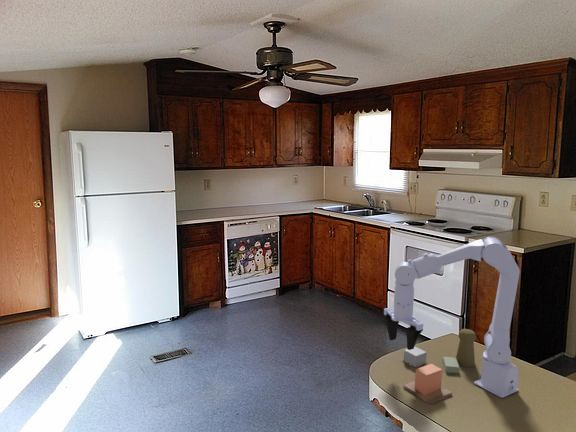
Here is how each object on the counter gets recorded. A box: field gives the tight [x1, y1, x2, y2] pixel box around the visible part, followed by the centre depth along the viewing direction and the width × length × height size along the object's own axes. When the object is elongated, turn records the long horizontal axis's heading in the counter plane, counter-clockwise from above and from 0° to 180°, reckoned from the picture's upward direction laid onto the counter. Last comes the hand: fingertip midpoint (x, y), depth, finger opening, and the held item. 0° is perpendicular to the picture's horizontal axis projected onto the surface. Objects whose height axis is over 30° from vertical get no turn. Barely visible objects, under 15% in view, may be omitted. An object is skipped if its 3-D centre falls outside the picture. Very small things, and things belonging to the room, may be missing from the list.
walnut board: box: [403, 380, 453, 405], centre depth 136 cm, size 10×9×1 cm
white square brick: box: [403, 345, 427, 368], centre depth 153 cm, size 5×5×4 cm
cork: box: [455, 328, 477, 368], centre depth 153 cm, size 6×6×11 cm
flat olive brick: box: [442, 356, 460, 374], centre depth 150 cm, size 6×4×2 cm, turn 170°
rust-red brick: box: [414, 363, 443, 395], centre depth 136 cm, size 4×6×6 cm, turn 122°
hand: (401, 344), depth 145 cm, fingers open, 7 cm apart
